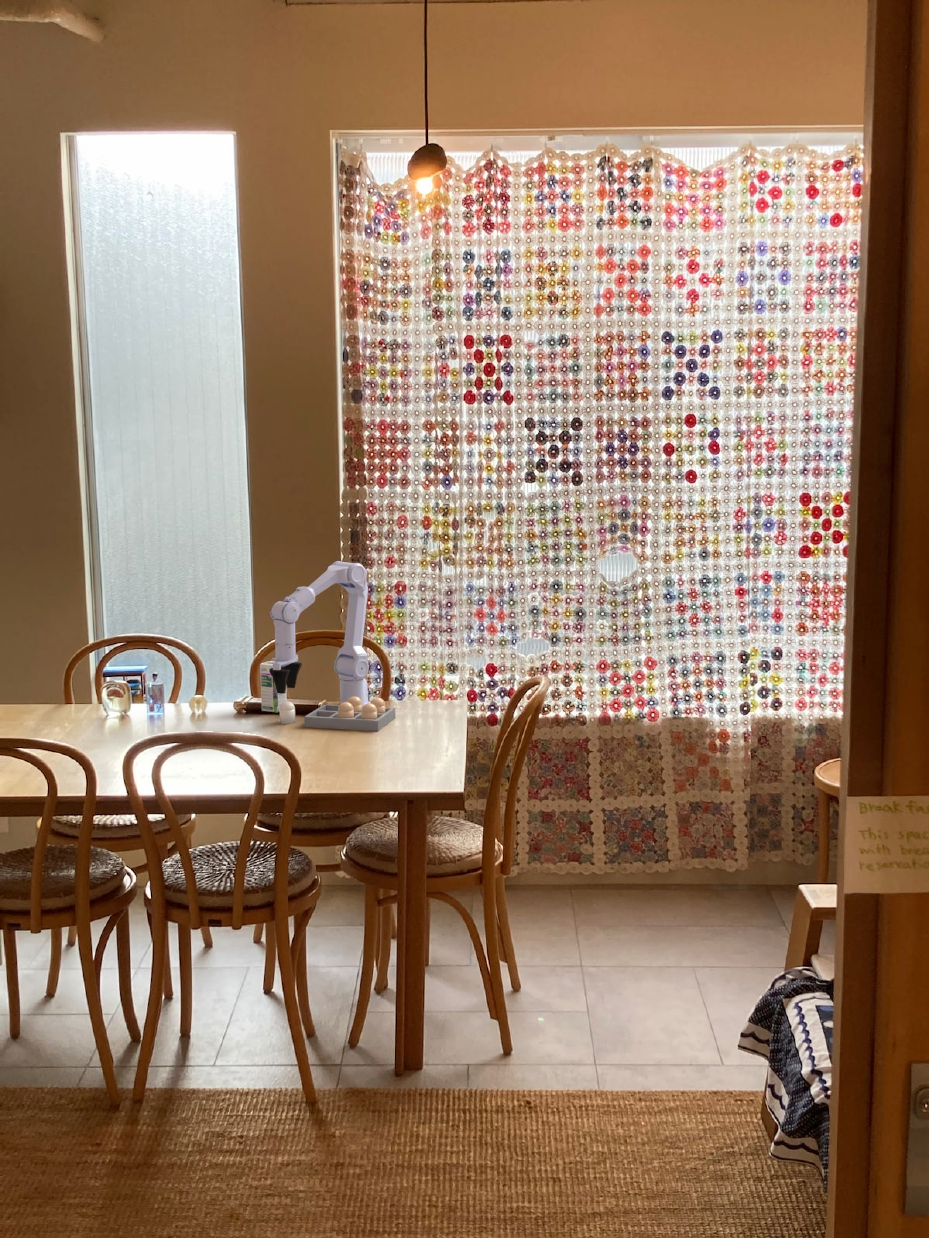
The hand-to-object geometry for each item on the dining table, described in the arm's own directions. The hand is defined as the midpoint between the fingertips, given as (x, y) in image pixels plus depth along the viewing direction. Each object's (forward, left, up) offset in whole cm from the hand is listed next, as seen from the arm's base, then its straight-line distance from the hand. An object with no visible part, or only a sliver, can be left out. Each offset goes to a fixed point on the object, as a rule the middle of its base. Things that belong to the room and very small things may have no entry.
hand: (286, 690), depth 331 cm
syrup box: (-14, -10, -10) cm, 20 cm away
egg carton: (-4, +18, -10) cm, 21 cm away
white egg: (-1, 0, -10) cm, 10 cm away
